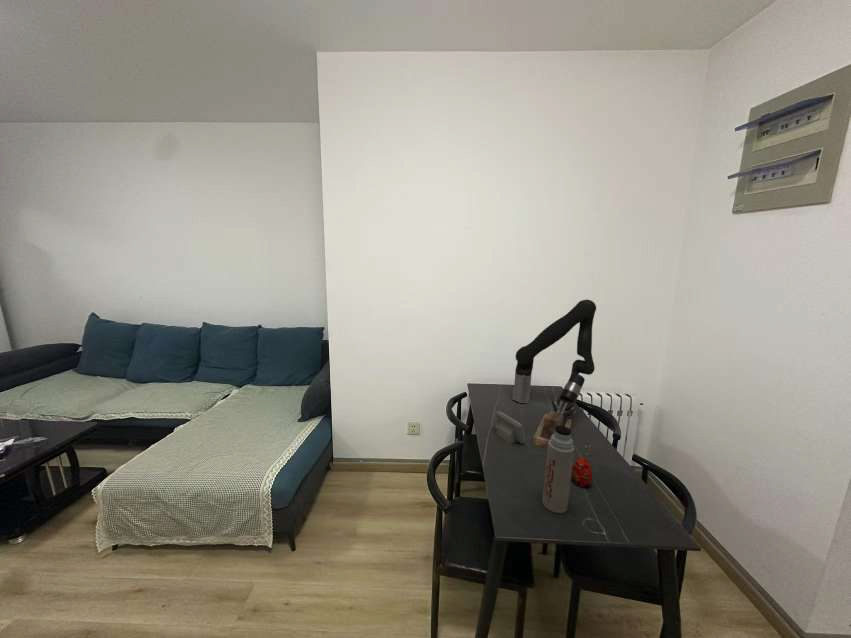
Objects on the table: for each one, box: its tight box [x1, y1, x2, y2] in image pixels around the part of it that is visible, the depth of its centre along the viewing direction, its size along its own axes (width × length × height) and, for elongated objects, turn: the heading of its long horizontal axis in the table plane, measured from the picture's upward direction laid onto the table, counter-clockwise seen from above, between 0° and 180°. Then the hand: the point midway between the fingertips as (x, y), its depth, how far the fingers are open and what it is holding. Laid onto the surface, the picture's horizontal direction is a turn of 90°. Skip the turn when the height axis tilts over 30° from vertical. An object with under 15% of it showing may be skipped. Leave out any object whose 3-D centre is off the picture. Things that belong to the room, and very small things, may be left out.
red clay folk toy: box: [571, 444, 593, 488], centre depth 120 cm, size 8×7×15 cm
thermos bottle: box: [542, 425, 575, 514], centre depth 107 cm, size 8×8×28 cm
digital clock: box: [495, 410, 526, 445], centre depth 150 cm, size 16×9×11 cm, turn 18°
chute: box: [532, 413, 573, 450], centre depth 154 cm, size 13×28×4 cm, turn 150°
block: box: [542, 410, 564, 439], centre depth 155 cm, size 6×10×9 cm, turn 141°
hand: (556, 421), depth 160 cm, fingers closed
